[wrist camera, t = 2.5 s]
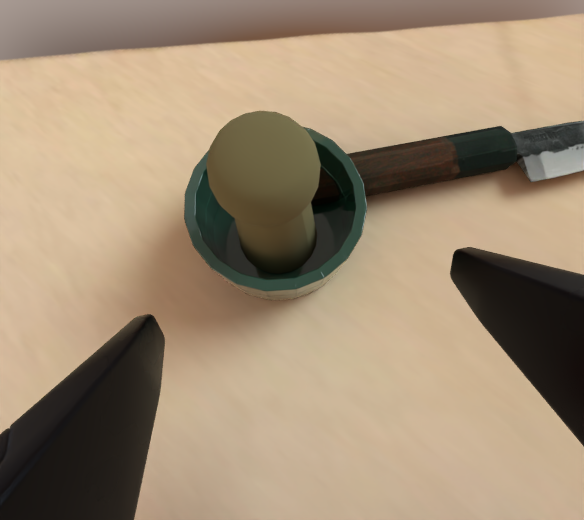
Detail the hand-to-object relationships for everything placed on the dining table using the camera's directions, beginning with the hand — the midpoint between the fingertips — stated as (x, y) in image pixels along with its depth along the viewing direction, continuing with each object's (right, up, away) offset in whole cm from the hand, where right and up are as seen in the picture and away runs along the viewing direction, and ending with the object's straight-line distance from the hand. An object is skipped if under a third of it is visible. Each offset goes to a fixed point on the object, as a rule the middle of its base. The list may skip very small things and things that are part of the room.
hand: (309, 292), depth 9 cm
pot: (-2, +4, +14) cm, 15 cm away
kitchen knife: (+17, +9, +16) cm, 25 cm away
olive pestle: (-2, +3, +14) cm, 14 cm away
